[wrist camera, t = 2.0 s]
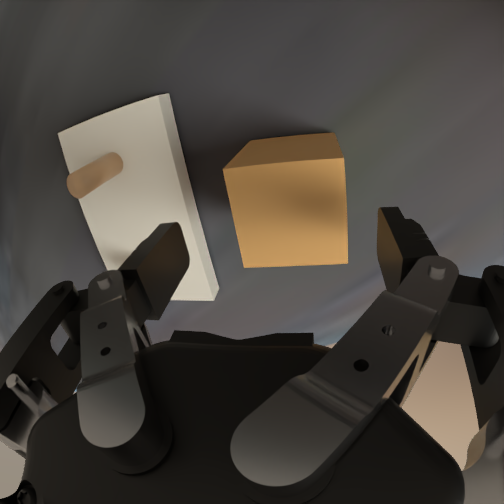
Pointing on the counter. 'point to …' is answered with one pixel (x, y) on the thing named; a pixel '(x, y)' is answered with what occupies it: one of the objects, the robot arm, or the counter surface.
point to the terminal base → (137, 186)
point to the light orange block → (289, 201)
